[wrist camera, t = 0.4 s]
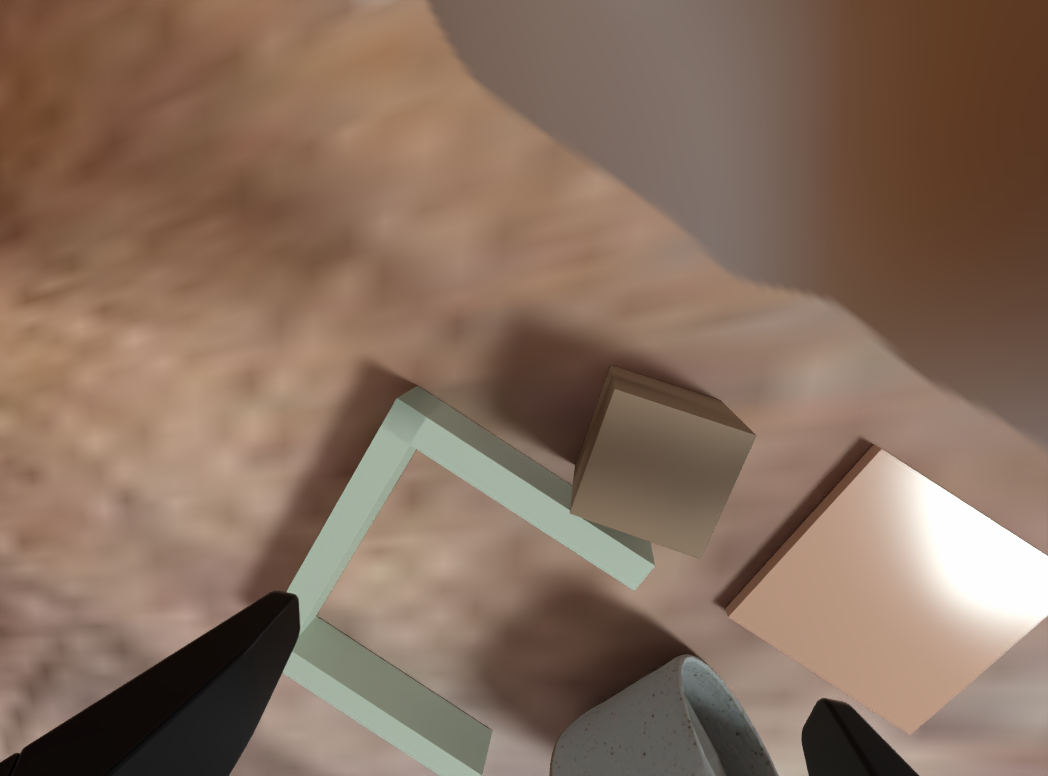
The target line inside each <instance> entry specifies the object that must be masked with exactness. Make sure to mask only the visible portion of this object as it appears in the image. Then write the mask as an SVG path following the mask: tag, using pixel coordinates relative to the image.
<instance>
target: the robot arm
mask: <svg viewBox="0 0 1048 776" xmlns="http://www.w3.org/2000/svg"><path fill="white" fill-rule="evenodd" d="M299 633H300V612H299V599H298V597H297V595H296V594H293V593H288V592H283V591H273V592H270V593H269V594H267V595H265V596H264V597H262V598H261V599H259V600H258V601H256V602H254V603H253V604H251V605H250V606H248V607H246V608H245V609H243V610H242V611H240V612H238V613H237V614H235V615H234V616H232V617H231V618H229V619H227V620H226V621H224V622H223V623H221V624H219V625H218V626H216V627H215V628H213V629H212V630H210V631H208V632H207V633H205V634H204V635H202V636H200V637H199V638H197V639H196V640H194V641H193V642H191V643H189V644H188V645H186V646H185V647H183V648H181V649H180V650H178V651H177V652H175V653H173V654H172V655H170V656H169V657H167V658H166V659H164V660H162V661H161V662H159V663H158V664H156V665H154V666H153V667H151V668H150V669H148V670H147V671H145V672H143V673H142V674H140V675H139V676H137V677H135V678H134V679H132V680H131V681H129V682H127V683H126V684H124V685H123V686H121V687H120V688H118V689H116V690H115V691H113V692H112V693H110V694H108V695H107V696H105V697H104V698H102V699H101V700H99V701H97V702H96V703H94V704H93V705H91V706H89V707H88V708H86V709H85V710H83V711H81V712H80V713H78V714H77V715H75V716H74V717H72V718H70V719H69V720H67V721H66V722H64V723H62V724H61V725H59V726H58V727H56V728H55V729H53V730H51V731H50V732H48V733H47V734H45V735H43V736H42V737H40V738H39V739H37V740H36V741H34V742H32V743H31V744H29V745H28V746H26V747H25V748H23V750H22V751H21V753H15V754H13V755H11V756H10V757H8V758H7V759H5V760H3V761H2V762H0V776H229V775H230V773H231V771H232V770H233V768H234V766H235V764H236V763H237V761H238V759H239V758H240V756H241V754H242V753H243V751H244V749H245V747H246V746H247V744H248V742H249V740H250V738H251V737H252V735H253V733H254V731H255V729H256V727H257V725H258V723H259V721H260V719H261V717H262V715H263V712H264V710H265V708H266V706H267V704H268V702H269V700H270V698H271V696H272V693H273V691H274V689H275V687H276V685H277V683H278V681H279V679H280V676H281V674H282V672H283V670H284V668H285V666H286V664H287V662H288V660H289V657H290V655H291V653H292V651H293V649H294V647H295V645H296V643H297V640H298V637H299ZM802 746H803V751H804V756H805V760H806V765H807V769H808V774H809V776H919V775H918V774H917V773H916V772H915V771H914V770H913V769H912V768H911V767H910V766H909V765H908V764H907V763H906V762H905V761H904V760H903V759H902V758H901V756H900V755H899V754H898V753H897V752H896V751H895V750H894V749H893V748H892V747H891V746H890V745H889V744H888V743H887V742H886V741H885V740H884V739H883V738H882V737H881V736H880V735H879V734H878V733H877V732H876V731H875V730H874V729H873V728H872V727H871V726H870V725H869V724H868V723H867V722H866V721H865V719H864V718H863V717H862V716H861V715H860V714H859V713H858V712H857V711H856V710H855V709H854V708H853V707H852V706H850V705H849V704H847V703H845V702H842V701H837V700H832V699H827V698H822V699H820V700H818V701H817V703H816V705H815V706H814V708H813V710H812V712H811V714H810V716H809V718H808V719H807V721H806V723H805V725H804V727H803V730H802Z"/></svg>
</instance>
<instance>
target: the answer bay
mask: <svg viewBox="0 0 1048 776" xmlns="http://www.w3.org/2000/svg"><path fill="white" fill-rule="evenodd" d="M416 449H417V450H419V451H420V452H422V453H423V454H425V455H426V456H428V457H429V458H431V459H432V460H434V461H435V462H437V463H439V464H440V465H442V466H443V467H445V468H446V469H448V470H449V471H451V472H452V473H454V474H455V475H457V476H459V477H460V478H462V479H463V480H465V481H466V482H468V483H469V484H471V485H472V486H474V487H475V488H477V489H478V490H480V491H482V492H483V493H485V494H486V495H488V496H489V497H491V498H492V499H494V500H495V501H497V502H498V503H500V504H502V505H503V506H505V507H506V508H508V509H509V510H511V511H512V512H514V513H515V514H517V515H518V516H520V517H522V518H523V519H525V520H526V521H528V522H529V523H531V524H532V525H534V526H535V527H537V528H538V529H540V530H542V531H543V532H545V533H546V534H548V535H549V536H551V537H552V538H554V539H555V540H557V541H558V542H560V543H562V544H563V545H565V546H566V547H568V548H569V549H571V550H572V551H574V552H575V553H577V554H578V555H580V556H582V557H583V558H585V559H586V560H588V561H589V562H591V563H592V564H594V565H595V566H597V567H598V568H600V569H602V570H603V571H605V572H606V573H608V574H609V575H611V576H612V577H614V578H615V579H617V580H618V581H620V582H621V583H623V584H625V585H626V586H628V587H629V588H631V589H632V590H634V591H635V590H636V588H637V587H638V586H639V585H640V583H641V582H642V581H643V580H644V579H645V577H646V576H647V575H648V574H649V573H650V571H651V570H652V569H653V568H654V567H655V563H654V558H653V553H652V548H651V543H650V541H647V540H644V539H641V538H638V537H635V536H632V535H630V534H627V533H624V532H621V531H618V530H615V529H612V528H610V527H607V526H604V525H601V524H598V523H595V522H592V521H589V520H587V519H584V518H581V517H578V516H575V515H572V514H570V506H571V497H572V488H573V486H571V485H570V484H568V483H567V482H565V481H564V480H562V479H561V478H559V477H558V476H556V475H554V474H553V473H551V472H550V471H548V470H547V469H545V468H544V467H542V466H541V465H539V464H538V463H536V462H534V461H533V460H531V459H530V458H528V457H527V456H525V455H524V454H522V453H521V452H519V451H518V450H516V449H514V448H513V447H511V446H510V445H508V444H507V443H505V442H504V441H502V440H501V439H499V438H498V437H496V436H494V435H493V434H491V433H490V432H488V431H487V430H485V429H484V428H482V427H481V426H479V425H478V424H476V423H474V422H473V421H471V420H470V419H468V418H467V417H465V416H464V415H462V414H461V413H459V412H457V411H456V410H454V409H453V408H451V407H450V406H448V405H447V404H445V403H444V402H442V401H441V400H439V399H437V398H436V397H434V396H433V395H431V394H430V393H428V392H427V391H425V390H424V389H422V388H421V387H419V386H416V387H414V388H413V389H411V390H409V391H408V392H406V393H404V394H403V395H401V396H399V397H398V398H397V399H396V400H395V402H394V404H393V406H392V407H391V409H390V411H389V413H388V414H387V416H386V418H385V420H384V421H383V423H382V425H381V427H380V428H379V430H378V432H377V434H376V435H375V437H374V439H373V441H372V442H371V444H370V446H369V448H368V449H367V451H366V453H365V455H364V457H363V458H362V460H361V462H360V464H359V465H358V467H357V469H356V471H355V472H354V474H353V476H352V478H351V479H350V481H349V483H348V485H347V486H346V488H345V490H344V492H343V493H342V495H341V497H340V499H339V500H338V502H337V504H336V506H335V507H334V509H333V511H332V513H331V514H330V516H329V518H328V520H327V521H326V523H325V525H324V527H323V529H322V530H321V532H320V534H319V536H318V537H317V539H316V541H315V543H314V544H313V546H312V548H311V550H310V551H309V553H308V555H307V557H306V558H305V560H304V562H303V564H302V565H301V567H300V569H299V571H298V572H297V574H296V576H295V578H294V579H293V581H292V583H291V585H290V586H289V588H288V590H287V592H288V593H293V594H296V595H297V597H298V599H299V612H300V633H299V637H298V640H297V643H296V645H295V647H294V649H293V651H292V653H291V655H290V657H289V660H288V662H287V664H286V666H285V668H284V670H283V672H282V673H283V674H285V675H286V676H288V677H289V678H291V679H293V680H294V681H296V682H297V683H299V684H300V685H302V686H303V687H305V688H306V689H308V690H309V691H311V692H312V693H314V694H315V695H317V696H319V697H320V698H322V699H323V700H325V701H326V702H328V703H329V704H331V705H332V706H334V707H335V708H337V709H338V710H340V711H341V712H343V713H345V714H346V715H348V716H349V717H351V718H352V719H354V720H355V721H357V722H358V723H360V724H361V725H363V726H364V727H366V728H367V729H369V730H371V731H372V732H374V733H375V734H377V735H378V736H380V737H381V738H383V739H384V740H386V741H387V742H389V743H390V744H392V745H393V746H395V747H397V748H398V749H400V750H401V751H403V752H404V753H406V754H407V755H409V756H410V757H412V758H413V759H415V760H416V761H418V762H419V763H421V764H423V765H424V766H426V767H427V768H429V769H430V770H432V771H433V772H435V773H436V774H438V775H439V776H482V773H483V769H484V765H485V761H486V756H487V752H488V748H489V743H490V739H491V735H492V730H490V729H489V728H487V727H485V726H484V725H482V724H481V723H479V722H478V721H476V720H475V719H473V718H472V717H470V716H469V715H467V714H466V713H464V712H463V711H461V710H459V709H458V708H456V707H455V706H453V705H452V704H450V703H449V702H447V701H446V700H444V699H443V698H441V697H440V696H438V695H436V694H435V693H433V692H432V691H430V690H429V689H427V688H426V687H424V686H423V685H421V684H420V683H418V682H417V681H415V680H413V679H412V678H410V677H409V676H407V675H406V674H404V673H403V672H401V671H400V670H398V669H397V668H395V667H394V666H392V665H391V664H389V663H387V662H386V661H384V660H383V659H381V658H380V657H378V656H377V655H375V654H374V653H372V652H371V651H369V650H368V649H366V648H364V647H363V646H361V645H360V644H358V643H357V642H355V641H354V640H352V639H351V638H349V637H348V636H346V635H345V634H343V633H341V632H340V631H338V630H337V629H335V628H334V627H332V626H331V625H329V624H328V623H326V622H325V621H323V620H322V619H320V618H319V617H317V616H316V615H317V614H318V612H319V610H320V609H321V607H322V605H323V604H324V602H325V600H326V599H327V597H328V595H329V594H330V592H331V590H332V589H333V587H334V585H335V584H336V582H337V580H338V579H339V577H340V575H341V574H342V572H343V570H344V569H345V567H346V565H347V564H348V562H349V560H350V559H351V557H352V555H353V554H354V552H355V550H356V549H357V547H358V545H359V544H360V542H361V540H362V539H363V537H364V535H365V534H366V532H367V531H368V529H369V527H370V526H371V524H372V522H373V521H374V519H375V517H376V516H377V514H378V512H379V511H380V509H381V507H382V506H383V504H384V502H385V501H386V499H387V497H388V496H389V494H390V492H391V491H392V489H393V487H394V486H395V484H396V482H397V481H398V479H399V477H400V476H401V474H402V472H403V471H404V469H405V467H406V466H407V464H408V462H409V461H410V459H411V457H412V456H413V454H414V452H415V451H416Z"/></svg>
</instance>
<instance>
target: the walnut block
mask: <svg viewBox="0 0 1048 776" xmlns="http://www.w3.org/2000/svg"><path fill="white" fill-rule="evenodd" d="M755 438H756V435H755V434H754V433H753V432H752V431H751V430H750V429H749V428H748V427H747V426H746V425H745V424H744V423H743V422H742V421H741V420H740V419H739V418H738V417H737V416H736V415H735V414H734V413H733V412H732V411H731V410H730V409H729V408H728V407H727V406H726V405H725V404H724V403H723V402H722V401H720V400H717V399H714V398H711V397H708V396H705V395H702V394H699V393H696V392H693V391H690V390H687V389H684V388H680V387H677V386H674V385H671V384H668V383H665V382H662V381H659V380H656V379H653V378H650V377H647V376H644V375H641V374H637V373H634V372H631V371H628V370H625V369H622V368H619V367H616V366H613V365H611V366H610V368H609V371H608V374H607V377H606V380H605V382H604V385H603V388H602V391H601V394H600V397H599V399H598V402H597V405H596V408H595V411H594V413H593V416H592V419H591V422H590V425H589V427H588V430H587V433H586V436H585V439H584V441H583V444H582V447H581V450H580V453H579V456H578V458H577V461H576V464H575V471H574V479H573V488H572V497H571V506H570V514H572V515H575V516H578V517H581V518H584V519H587V520H589V521H592V522H595V523H598V524H601V525H604V526H607V527H610V528H612V529H615V530H618V531H621V532H624V533H627V534H630V535H632V536H635V537H638V538H641V539H644V540H647V541H650V542H653V543H655V544H658V545H661V546H664V547H667V548H670V549H673V550H675V551H678V552H681V553H684V554H687V555H690V556H693V557H696V558H698V559H701V557H702V555H703V553H704V551H705V548H706V546H707V544H708V542H709V540H710V537H711V535H712V533H713V531H714V528H715V526H716V524H717V522H718V520H719V517H720V515H721V513H722V511H723V508H724V506H725V504H726V502H727V500H728V497H729V495H730V493H731V491H732V489H733V486H734V484H735V482H736V480H737V477H738V475H739V473H740V471H741V469H742V466H743V464H744V462H745V460H746V457H747V455H748V453H749V451H750V449H751V446H752V444H753V442H754V440H755Z"/></svg>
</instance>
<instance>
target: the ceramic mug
mask: <svg viewBox="0 0 1048 776" xmlns="http://www.w3.org/2000/svg"><path fill="white" fill-rule="evenodd" d="M549 776H778V773H777V771H776V769H775V767H774V764H773V762H772V760H771V758H770V755H769V754H768V752H767V750H766V748H765V746H764V744H763V742H762V740H761V738H760V736H759V735H758V733H757V731H756V729H755V728H754V726H753V724H752V723H751V721H750V719H749V717H748V716H747V714H746V713H745V711H744V709H743V708H742V706H741V705H740V703H739V702H738V701H737V699H736V698H735V697H734V696H733V694H732V693H731V692H730V690H729V689H728V688H727V686H726V685H725V683H724V682H723V681H722V679H721V678H720V677H719V676H718V675H717V674H716V673H715V672H714V671H713V670H712V669H711V668H710V667H709V666H708V665H707V664H705V663H704V662H703V661H702V660H700V659H699V658H698V657H695V656H693V655H689V654H684V655H680V656H678V657H676V658H674V659H672V660H671V661H669V662H668V663H667V664H665V665H664V666H662V667H661V668H659V669H657V670H655V671H654V672H652V673H650V674H648V675H646V676H644V677H643V678H641V679H640V680H638V681H636V682H635V683H633V684H632V685H630V686H628V687H627V688H625V689H624V690H622V691H621V692H619V693H618V694H616V695H615V696H613V697H611V698H610V699H608V700H606V701H605V702H603V703H601V704H599V705H597V706H595V707H593V708H592V709H590V710H588V711H587V712H585V713H584V714H582V715H581V716H579V717H578V718H577V719H576V720H575V721H574V722H573V723H572V724H571V725H570V726H568V727H567V728H566V730H565V731H564V732H563V733H562V734H561V736H560V737H559V738H558V740H557V742H556V744H555V746H554V750H553V753H552V758H551V763H550V775H549Z"/></svg>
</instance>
